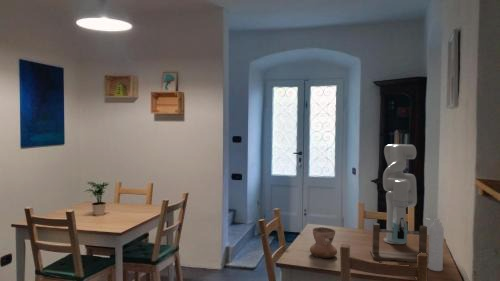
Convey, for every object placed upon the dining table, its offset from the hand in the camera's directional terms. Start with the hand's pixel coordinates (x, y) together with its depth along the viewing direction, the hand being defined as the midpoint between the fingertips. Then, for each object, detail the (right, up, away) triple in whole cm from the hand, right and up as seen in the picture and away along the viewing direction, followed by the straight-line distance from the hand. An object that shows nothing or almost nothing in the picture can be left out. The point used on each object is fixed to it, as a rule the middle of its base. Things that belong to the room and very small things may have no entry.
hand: (399, 236), depth 215 cm
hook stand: (0, -11, 0) cm, 11 cm away
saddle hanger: (0, -2, 0) cm, 2 cm away
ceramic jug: (-40, -11, +2) cm, 42 cm away
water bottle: (+10, -12, -16) cm, 23 cm away
